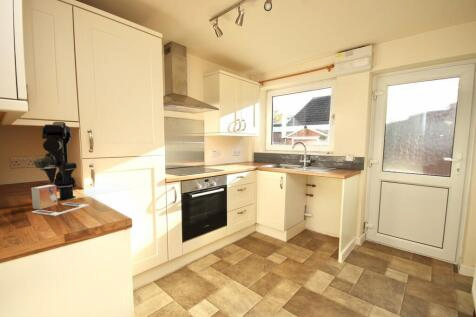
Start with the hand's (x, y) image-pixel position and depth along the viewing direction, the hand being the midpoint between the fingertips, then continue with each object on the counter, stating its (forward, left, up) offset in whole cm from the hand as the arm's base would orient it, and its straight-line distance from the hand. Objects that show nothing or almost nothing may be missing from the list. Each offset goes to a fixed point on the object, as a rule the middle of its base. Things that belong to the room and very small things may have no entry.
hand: (58, 183), depth 107 cm
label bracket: (0, 0, -13) cm, 13 cm away
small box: (-11, 0, -13) cm, 17 cm away
